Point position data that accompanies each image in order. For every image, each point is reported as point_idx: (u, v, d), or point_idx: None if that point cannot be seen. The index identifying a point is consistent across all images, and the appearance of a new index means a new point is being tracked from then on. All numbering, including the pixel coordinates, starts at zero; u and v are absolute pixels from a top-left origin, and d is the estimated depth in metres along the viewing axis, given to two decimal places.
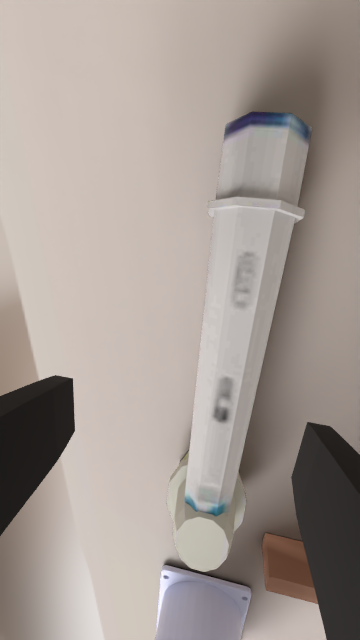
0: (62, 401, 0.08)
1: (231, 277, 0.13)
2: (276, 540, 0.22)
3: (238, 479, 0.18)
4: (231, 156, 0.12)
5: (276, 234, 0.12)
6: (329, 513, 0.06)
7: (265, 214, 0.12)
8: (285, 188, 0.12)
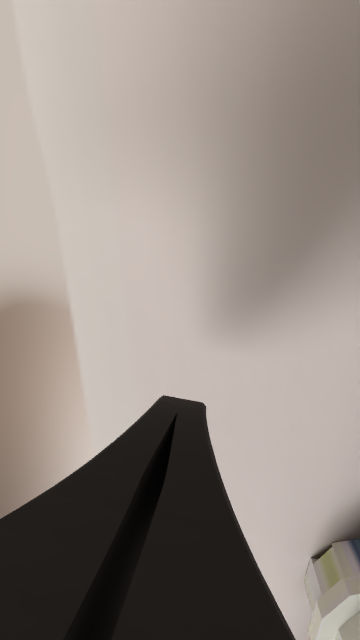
0: None
1: None
2: None
3: None
4: None
5: None
6: None
7: None
8: None
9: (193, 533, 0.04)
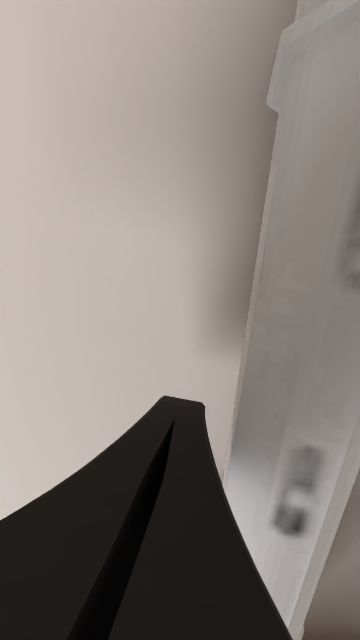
0: None
1: (342, 212, 0.05)
2: None
3: None
4: None
5: None
6: None
7: None
8: None
9: (191, 532, 0.04)
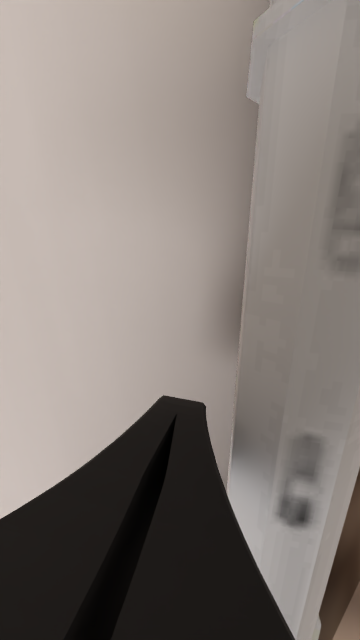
0: None
1: (324, 195, 0.05)
2: None
3: None
4: None
5: None
6: None
7: None
8: None
9: (193, 533, 0.04)
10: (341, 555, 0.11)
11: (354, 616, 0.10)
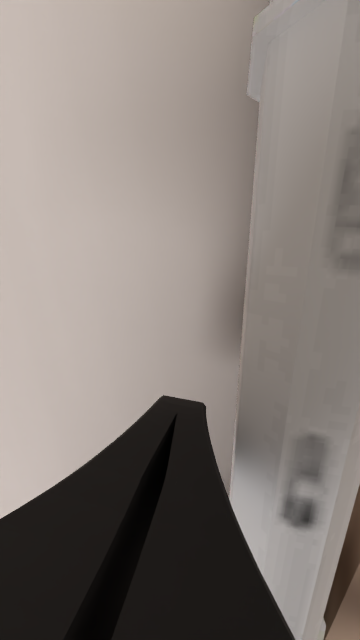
0: None
1: (327, 192, 0.05)
2: None
3: None
4: None
5: None
6: None
7: None
8: None
9: (193, 533, 0.04)
10: None
11: (347, 614, 0.10)
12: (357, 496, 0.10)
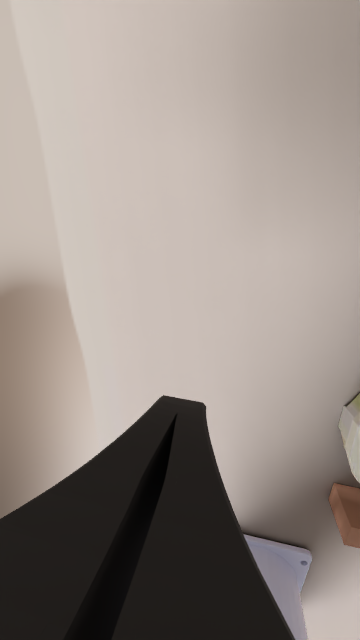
0: None
1: None
2: (349, 490, 0.19)
3: None
4: None
5: None
6: None
7: None
8: None
9: (193, 533, 0.04)
10: None
11: None
12: None
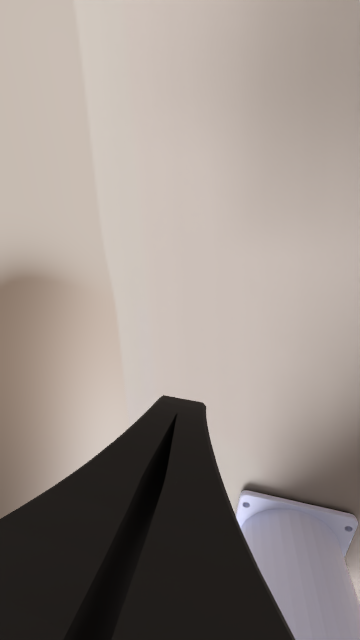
0: None
1: None
2: None
3: None
4: None
5: None
6: None
7: None
8: None
9: (193, 533, 0.04)
10: None
11: None
12: None
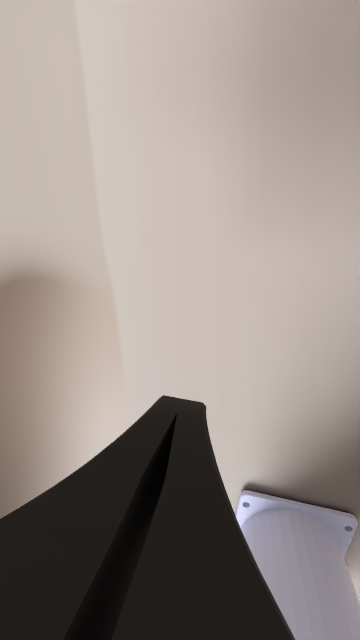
0: None
1: None
2: None
3: None
4: None
5: None
6: None
7: None
8: None
9: (193, 533, 0.04)
10: None
11: None
12: None
